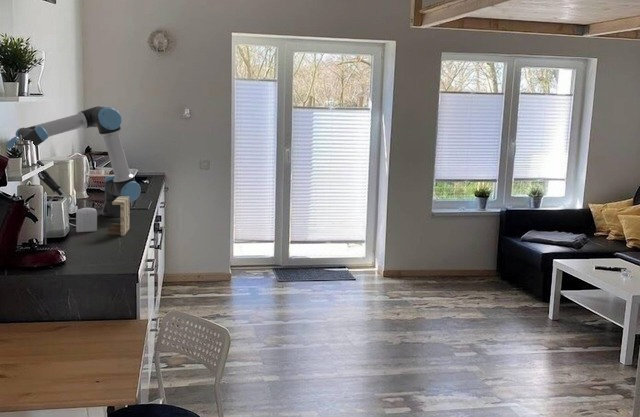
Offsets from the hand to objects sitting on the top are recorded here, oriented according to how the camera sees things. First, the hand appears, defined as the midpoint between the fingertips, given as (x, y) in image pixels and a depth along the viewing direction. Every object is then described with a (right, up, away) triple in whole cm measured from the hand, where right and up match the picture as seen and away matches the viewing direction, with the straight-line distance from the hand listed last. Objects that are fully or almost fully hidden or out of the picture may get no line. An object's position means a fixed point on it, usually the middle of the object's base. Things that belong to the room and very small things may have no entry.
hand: (66, 199), depth 317 cm
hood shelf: (+24, -17, +6) cm, 30 cm away
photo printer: (+9, -16, +4) cm, 19 cm away
